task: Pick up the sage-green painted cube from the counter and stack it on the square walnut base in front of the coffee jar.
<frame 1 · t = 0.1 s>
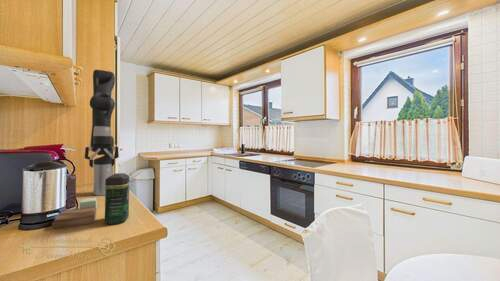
hand: (102, 166, 108), 17 cm above the worktop, tool pointing down, fingers open, 8 cm apart
supplement box: (62, 210, 93), on the worktop
sage cube: (88, 212, 91), on the worktop
coffee jar: (117, 220, 83), on the worktop
walnut base: (76, 220, 82), on the worktop
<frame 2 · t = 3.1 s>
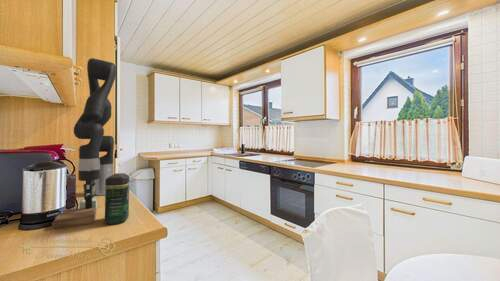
hand: (89, 205, 91), 3 cm above the worktop, tool pointing down, fingers open, 8 cm apart
nothing on the worktop moved.
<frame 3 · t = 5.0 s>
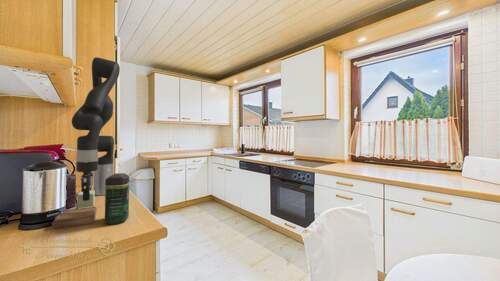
hand: (87, 198, 91), 6 cm above the worktop, tool pointing down, fingers closed on sage cube, 5 cm apart
sage cube: (86, 204, 91), point 3 cm above the worktop, touching gripper
everything else where it was.
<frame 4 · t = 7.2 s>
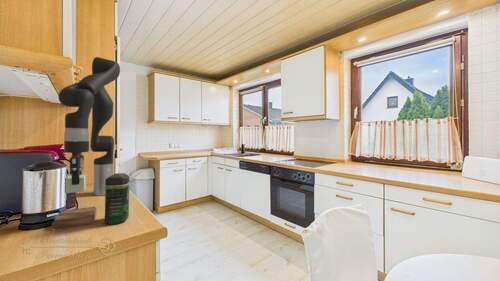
hand: (76, 182, 82), 15 cm above the worktop, tool pointing down, fingers closed on sage cube, 5 cm apart
sage cube: (75, 190, 82), point 12 cm above the worktop, touching gripper
everything else where it was.
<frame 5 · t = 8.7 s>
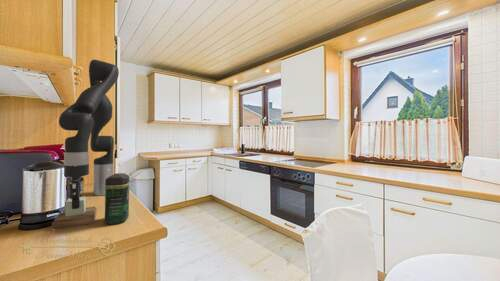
hand: (76, 205, 82), 6 cm above the worktop, tool pointing down, fingers closed on sage cube, 5 cm apart
sage cube: (75, 213, 82), point 3 cm above the worktop, touching gripper, walnut base
everything else where it was.
when the fingers open (5 cm above the worktop, at t = 9.8 s): sage cube stays where it is, resting on walnut base.
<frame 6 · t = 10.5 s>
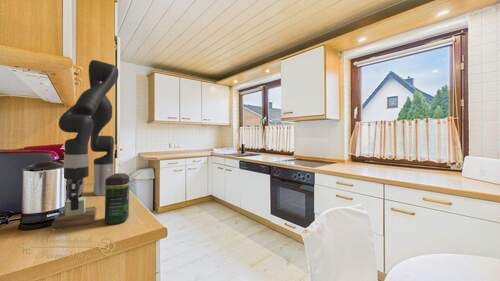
hand: (76, 206, 82), 6 cm above the worktop, tool pointing down, fingers open, 8 cm apart
sage cube: (75, 213, 82), point 3 cm above the worktop, touching walnut base
everything else where it was.
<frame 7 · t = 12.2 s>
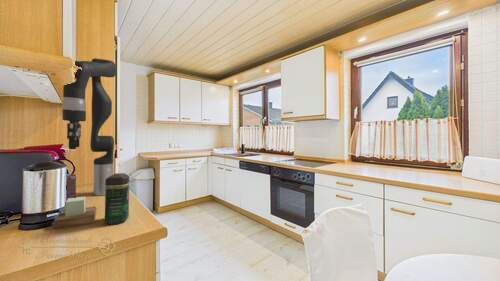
hand: (74, 148, 87), 28 cm above the worktop, tool pointing down, fingers open, 8 cm apart
nothing on the worktop moved.
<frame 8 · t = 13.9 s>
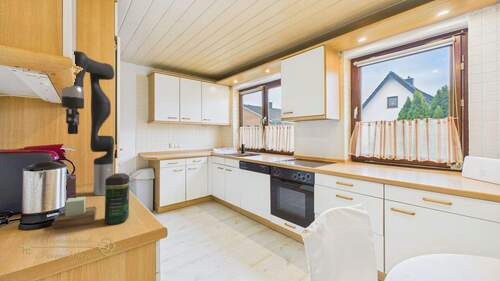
hand: (73, 134, 91), 34 cm above the worktop, tool pointing down, fingers open, 8 cm apart
nothing on the worktop moved.
at the end: sage cube inside the target area on the walnut base (0.2 cm from its centre), point 3.0 cm above the walnut base's base; sage cube tilted 0°; sage cube touching walnut base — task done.
